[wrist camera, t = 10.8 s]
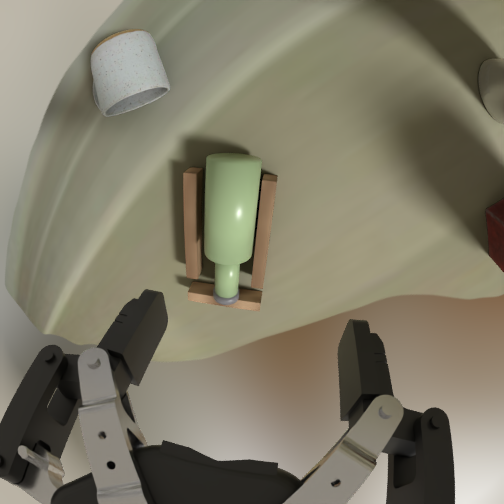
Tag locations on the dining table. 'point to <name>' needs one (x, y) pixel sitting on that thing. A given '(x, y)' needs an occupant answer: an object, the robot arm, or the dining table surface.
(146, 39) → the ceramic mug
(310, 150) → the dining table surface
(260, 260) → the rest
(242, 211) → the bottle
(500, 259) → the dark red tall container
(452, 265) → the dining table surface
